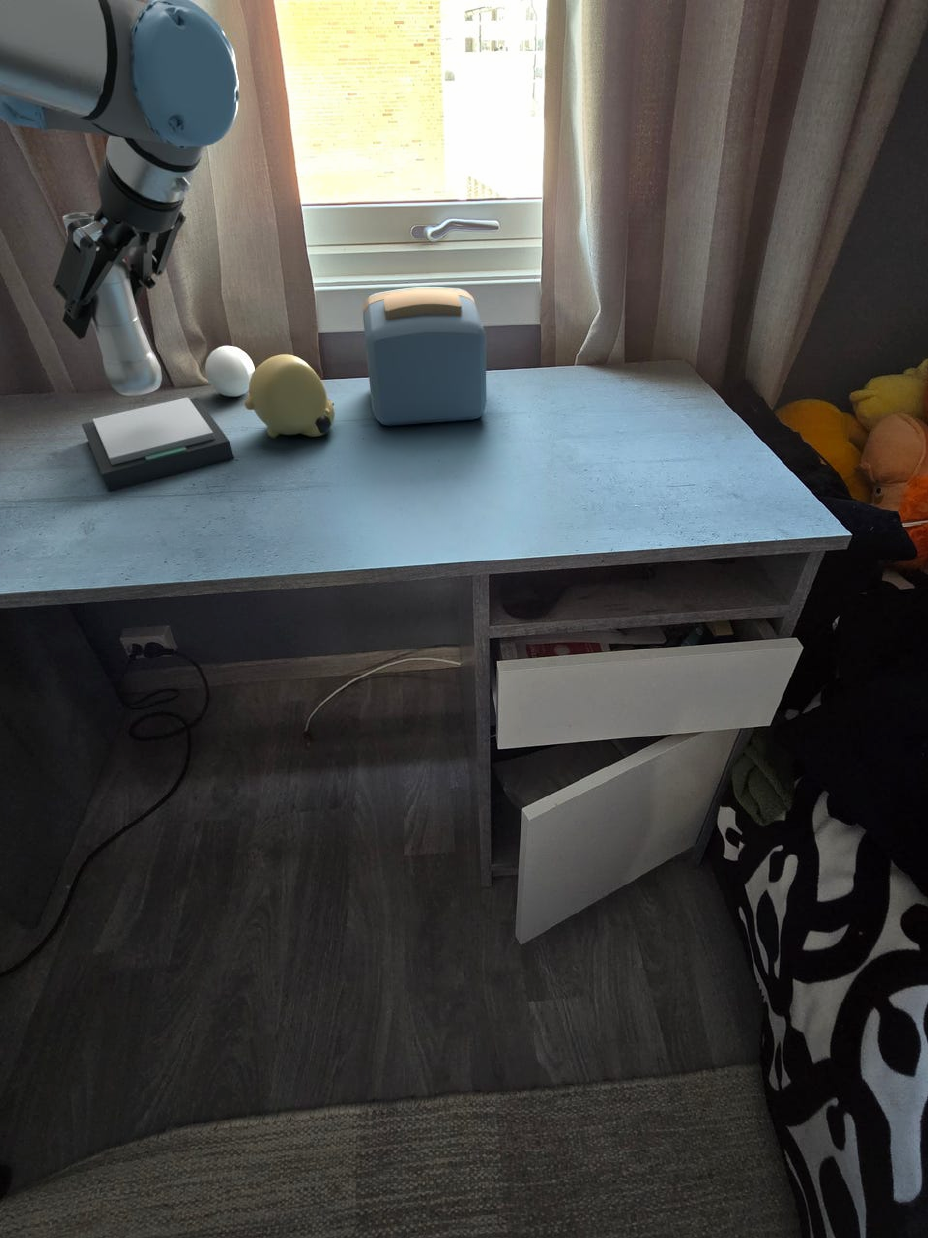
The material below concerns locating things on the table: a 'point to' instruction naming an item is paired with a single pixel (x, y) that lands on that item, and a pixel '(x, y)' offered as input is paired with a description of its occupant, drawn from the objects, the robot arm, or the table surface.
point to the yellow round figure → (290, 397)
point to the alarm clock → (425, 355)
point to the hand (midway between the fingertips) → (97, 319)
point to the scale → (155, 442)
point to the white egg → (229, 370)
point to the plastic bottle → (121, 329)
